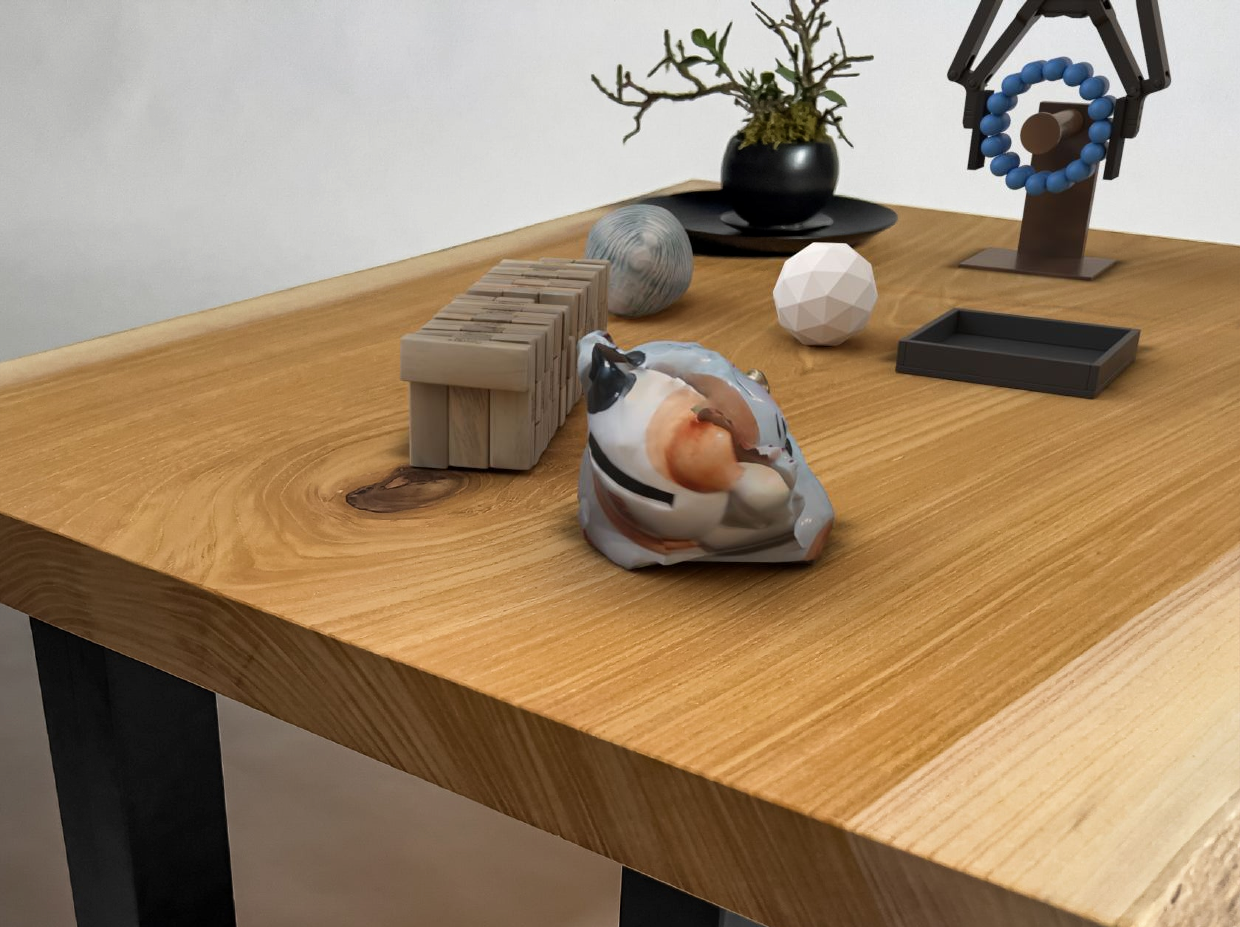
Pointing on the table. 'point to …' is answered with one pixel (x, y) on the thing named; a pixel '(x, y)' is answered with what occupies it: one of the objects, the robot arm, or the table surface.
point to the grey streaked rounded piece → (642, 259)
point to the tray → (1019, 352)
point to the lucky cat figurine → (691, 461)
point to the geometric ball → (825, 294)
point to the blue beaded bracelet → (1001, 122)
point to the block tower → (502, 363)
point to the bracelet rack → (1052, 203)
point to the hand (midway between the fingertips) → (1041, 173)
